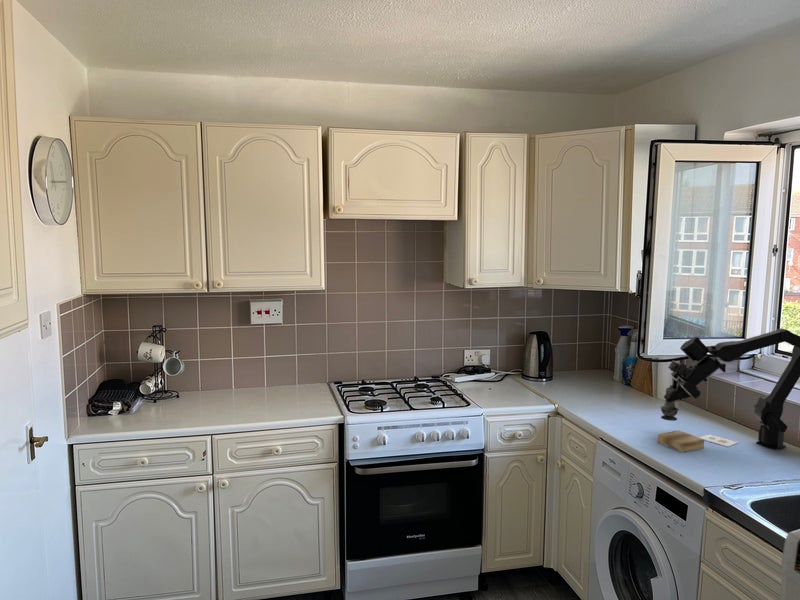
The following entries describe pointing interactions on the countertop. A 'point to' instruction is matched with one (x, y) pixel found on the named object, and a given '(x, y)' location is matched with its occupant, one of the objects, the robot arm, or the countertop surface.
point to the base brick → (681, 441)
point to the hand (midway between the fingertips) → (665, 399)
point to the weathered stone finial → (669, 407)
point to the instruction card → (718, 440)
